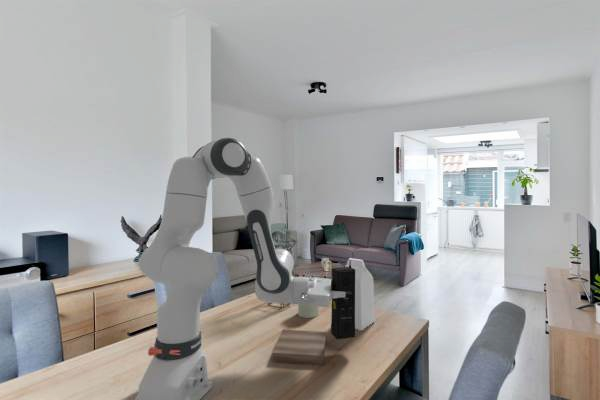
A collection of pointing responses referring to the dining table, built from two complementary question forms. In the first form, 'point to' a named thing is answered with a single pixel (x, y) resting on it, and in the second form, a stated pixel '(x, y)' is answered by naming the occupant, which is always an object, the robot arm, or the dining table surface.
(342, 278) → the portable radio
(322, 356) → the walnut plinth
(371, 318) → the milk
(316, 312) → the can
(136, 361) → the dining table surface
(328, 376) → the dining table surface
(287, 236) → the geometric lantern
